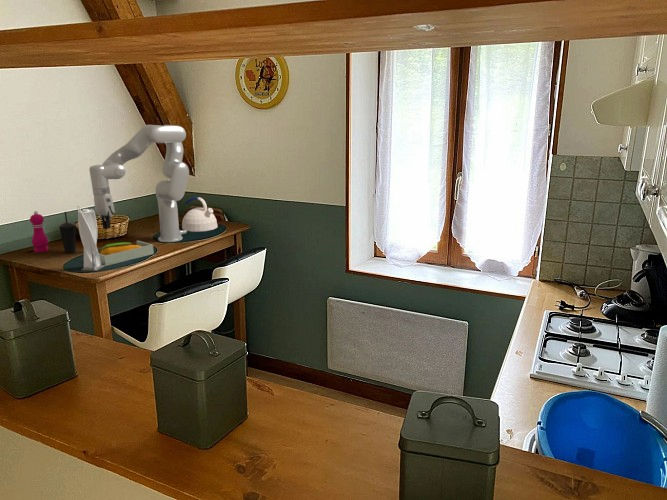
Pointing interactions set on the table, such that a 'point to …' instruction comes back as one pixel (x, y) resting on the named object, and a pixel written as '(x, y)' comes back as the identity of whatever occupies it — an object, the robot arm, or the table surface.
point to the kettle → (199, 218)
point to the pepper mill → (38, 233)
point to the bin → (127, 254)
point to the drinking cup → (68, 235)
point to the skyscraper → (89, 239)
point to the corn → (117, 248)
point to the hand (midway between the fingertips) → (107, 228)
